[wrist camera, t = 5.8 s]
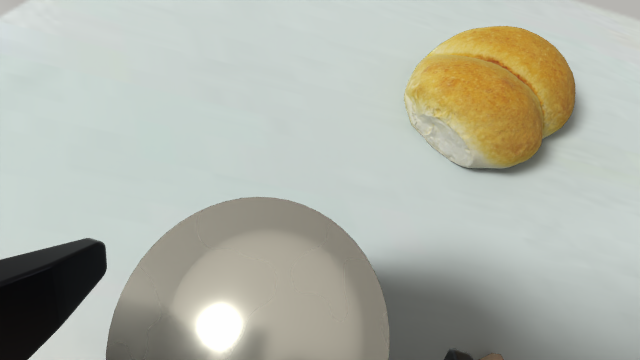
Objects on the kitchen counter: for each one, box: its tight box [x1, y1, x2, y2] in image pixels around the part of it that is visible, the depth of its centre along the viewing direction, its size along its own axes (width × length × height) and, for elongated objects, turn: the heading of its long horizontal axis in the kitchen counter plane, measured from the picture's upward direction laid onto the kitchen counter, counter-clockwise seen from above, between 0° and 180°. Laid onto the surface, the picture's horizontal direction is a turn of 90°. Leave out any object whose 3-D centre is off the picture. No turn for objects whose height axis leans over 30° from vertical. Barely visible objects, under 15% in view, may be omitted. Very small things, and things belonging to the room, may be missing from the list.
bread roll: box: [404, 26, 575, 168], centre depth 19 cm, size 8×9×4 cm
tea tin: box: [106, 197, 390, 360], centre depth 11 cm, size 5×5×10 cm
